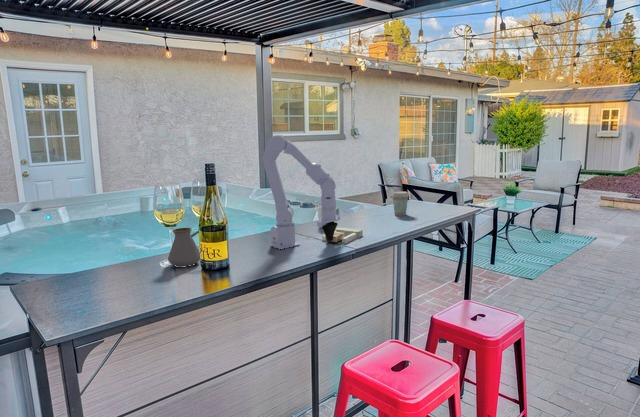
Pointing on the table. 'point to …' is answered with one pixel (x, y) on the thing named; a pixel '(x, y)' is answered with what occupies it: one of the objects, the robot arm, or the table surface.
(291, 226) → the robot arm
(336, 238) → the tan block
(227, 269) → the table surface
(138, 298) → the table surface
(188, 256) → the coffee pot
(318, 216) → the white cup
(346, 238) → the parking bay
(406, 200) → the coffee cup
